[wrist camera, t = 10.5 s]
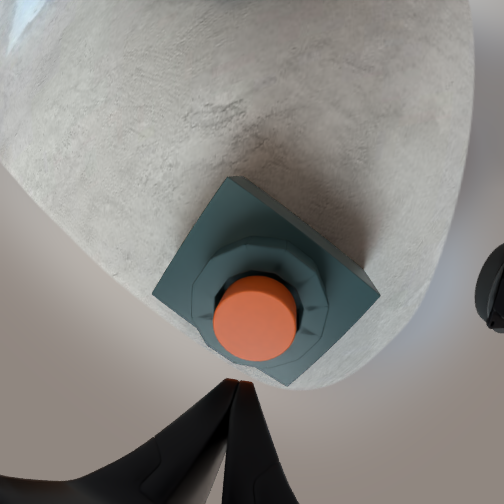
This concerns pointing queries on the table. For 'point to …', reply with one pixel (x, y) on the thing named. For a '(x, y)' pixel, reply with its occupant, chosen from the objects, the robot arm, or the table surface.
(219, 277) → the control block
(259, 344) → the button
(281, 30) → the table surface
